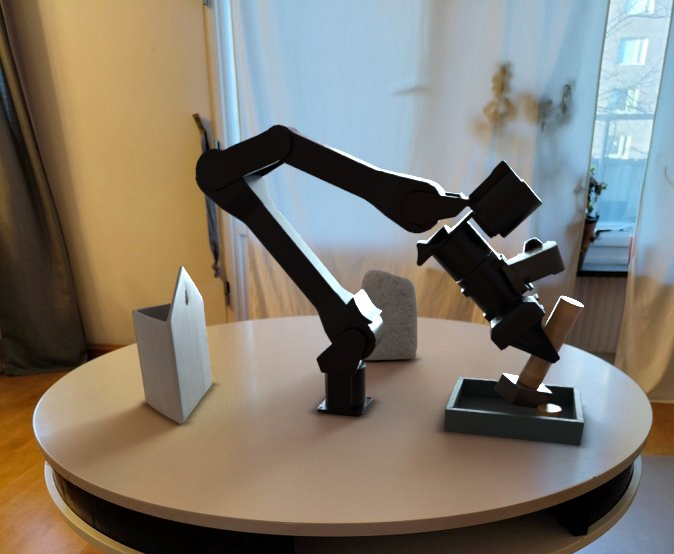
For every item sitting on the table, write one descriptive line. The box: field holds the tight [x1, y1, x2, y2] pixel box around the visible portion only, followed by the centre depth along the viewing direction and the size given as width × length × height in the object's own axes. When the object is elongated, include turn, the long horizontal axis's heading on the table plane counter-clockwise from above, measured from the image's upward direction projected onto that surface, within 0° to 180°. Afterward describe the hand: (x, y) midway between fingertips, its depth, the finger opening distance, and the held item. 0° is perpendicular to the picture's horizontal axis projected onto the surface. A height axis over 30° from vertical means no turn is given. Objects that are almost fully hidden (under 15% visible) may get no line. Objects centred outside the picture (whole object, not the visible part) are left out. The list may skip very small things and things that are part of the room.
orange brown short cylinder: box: [536, 404, 561, 418], centre depth 79 cm, size 3×3×2 cm
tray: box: [443, 376, 585, 446], centre depth 82 cm, size 14×17×3 cm
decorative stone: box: [360, 269, 418, 361], centre depth 106 cm, size 11×6×15 cm, turn 84°
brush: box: [494, 295, 585, 408], centre depth 78 cm, size 6×4×14 cm, turn 114°
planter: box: [131, 265, 213, 425], centre depth 86 cm, size 16×8×19 cm, turn 177°
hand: (555, 357), depth 78 cm, fingers closed on brush, 3 cm apart
